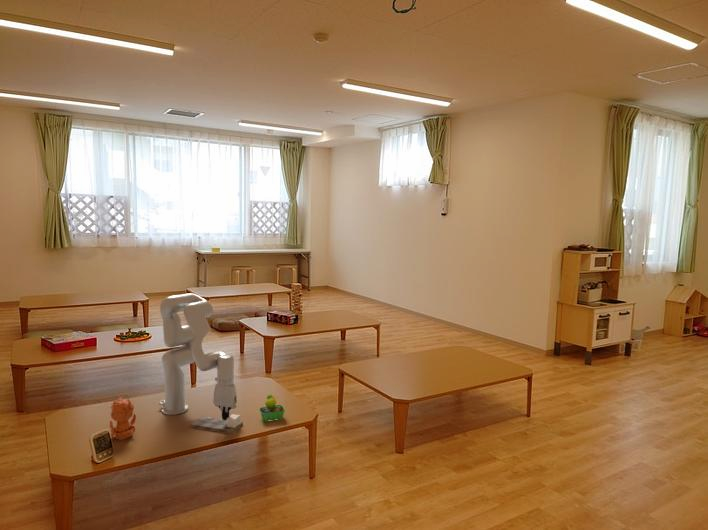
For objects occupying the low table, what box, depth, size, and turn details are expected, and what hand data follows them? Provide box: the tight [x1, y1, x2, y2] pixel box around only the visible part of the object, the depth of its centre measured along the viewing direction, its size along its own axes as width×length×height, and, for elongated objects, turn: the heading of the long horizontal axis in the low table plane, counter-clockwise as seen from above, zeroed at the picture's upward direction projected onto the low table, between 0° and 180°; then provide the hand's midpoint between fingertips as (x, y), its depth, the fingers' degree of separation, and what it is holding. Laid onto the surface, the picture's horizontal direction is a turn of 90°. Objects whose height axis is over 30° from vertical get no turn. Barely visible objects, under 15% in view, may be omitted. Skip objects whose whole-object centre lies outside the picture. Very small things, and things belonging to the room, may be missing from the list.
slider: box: [227, 413, 241, 428], centre depth 222 cm, size 4×5×4 cm
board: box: [189, 415, 244, 435], centre depth 224 cm, size 22×10×2 cm, turn 75°
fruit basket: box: [258, 394, 286, 422], centre depth 234 cm, size 11×9×11 cm
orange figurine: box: [109, 396, 137, 441], centre depth 211 cm, size 11×11×18 cm
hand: (225, 418), depth 223 cm, fingers closed
